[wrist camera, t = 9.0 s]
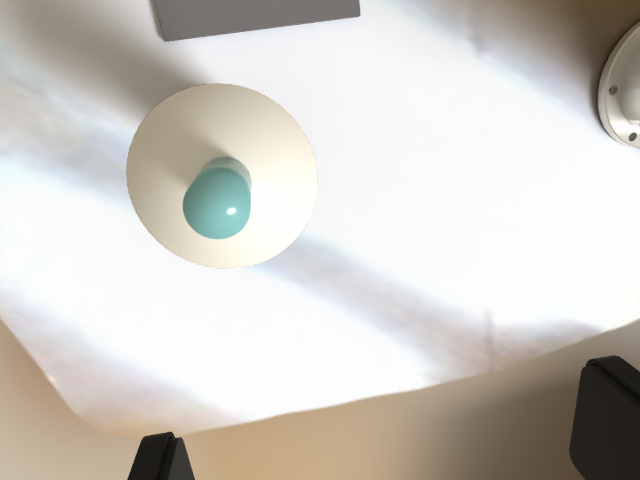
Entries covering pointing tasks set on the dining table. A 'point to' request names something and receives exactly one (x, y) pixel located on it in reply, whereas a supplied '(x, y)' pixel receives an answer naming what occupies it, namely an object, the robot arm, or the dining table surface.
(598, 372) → the robot arm
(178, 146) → the lid
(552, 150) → the dining table surface
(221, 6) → the mat
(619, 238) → the dining table surface
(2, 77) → the dining table surface
